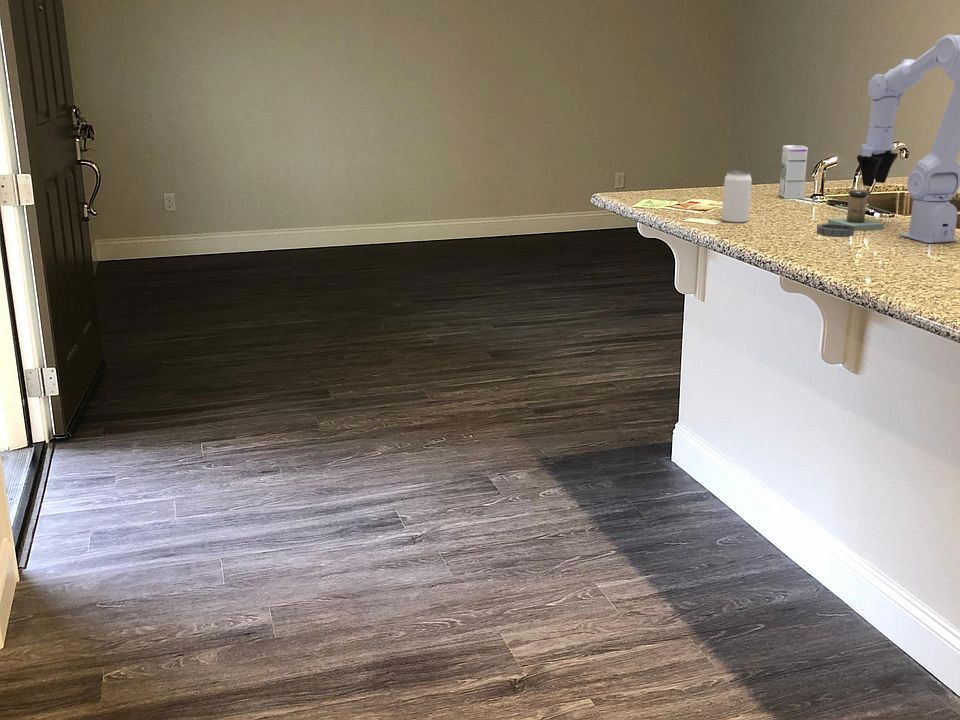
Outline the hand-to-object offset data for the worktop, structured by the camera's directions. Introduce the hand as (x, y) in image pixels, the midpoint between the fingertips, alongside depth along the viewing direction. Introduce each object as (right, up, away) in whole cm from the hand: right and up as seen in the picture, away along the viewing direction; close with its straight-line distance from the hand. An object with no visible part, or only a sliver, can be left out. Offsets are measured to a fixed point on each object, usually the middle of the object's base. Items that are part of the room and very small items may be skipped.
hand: (873, 184), depth 237 cm
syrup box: (-7, +3, +41) cm, 42 cm away
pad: (-5, -11, -2) cm, 12 cm away
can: (-32, -8, +5) cm, 34 cm away
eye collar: (-13, -13, -10) cm, 21 cm away
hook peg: (-5, -9, -2) cm, 11 cm away
